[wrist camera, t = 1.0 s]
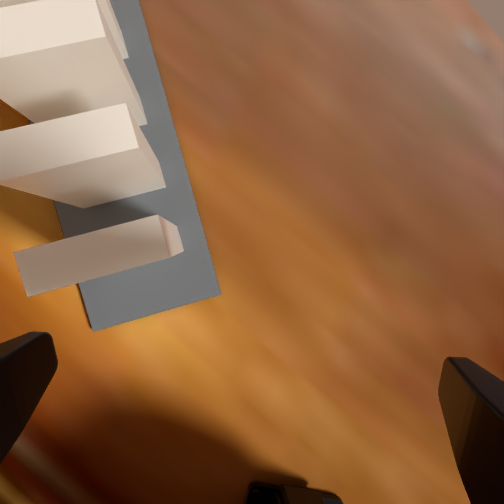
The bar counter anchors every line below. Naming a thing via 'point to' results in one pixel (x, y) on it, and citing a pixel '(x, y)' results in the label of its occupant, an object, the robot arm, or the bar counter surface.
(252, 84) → the bar counter surface
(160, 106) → the runner mat
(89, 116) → the domino
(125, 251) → the domino
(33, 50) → the domino
